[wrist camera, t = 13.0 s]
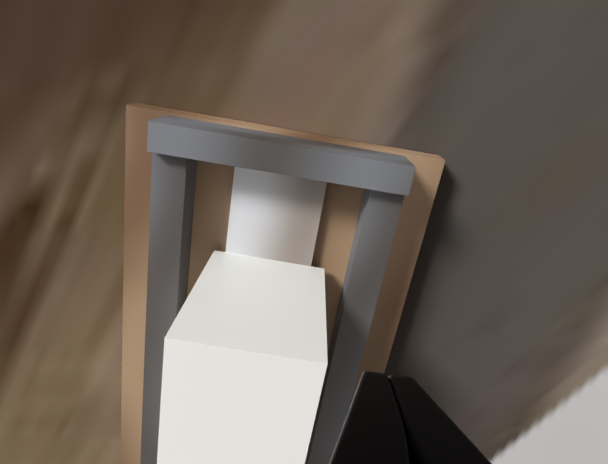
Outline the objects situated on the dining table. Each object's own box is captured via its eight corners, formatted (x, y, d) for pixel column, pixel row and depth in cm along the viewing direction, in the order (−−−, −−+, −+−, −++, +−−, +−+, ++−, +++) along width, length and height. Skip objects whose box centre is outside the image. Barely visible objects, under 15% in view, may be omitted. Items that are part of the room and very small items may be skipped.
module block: (324, 268, 17) (327, 363, 12) (292, 421, 20) (283, 556, 15) (214, 250, 17) (164, 337, 12) (198, 407, 20) (152, 537, 14)
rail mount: (438, 155, 17) (462, 172, 14) (347, 479, 23) (351, 535, 21) (136, 103, 17) (100, 109, 14) (128, 446, 23) (102, 499, 20)
